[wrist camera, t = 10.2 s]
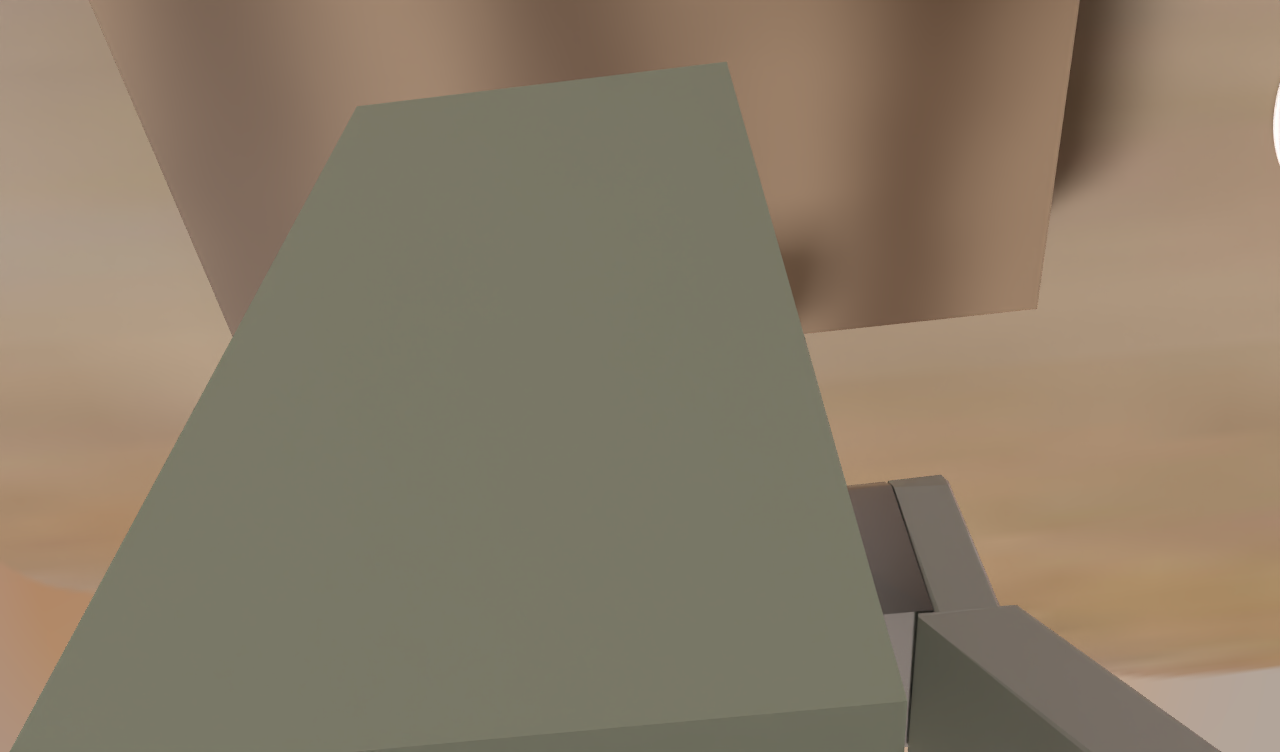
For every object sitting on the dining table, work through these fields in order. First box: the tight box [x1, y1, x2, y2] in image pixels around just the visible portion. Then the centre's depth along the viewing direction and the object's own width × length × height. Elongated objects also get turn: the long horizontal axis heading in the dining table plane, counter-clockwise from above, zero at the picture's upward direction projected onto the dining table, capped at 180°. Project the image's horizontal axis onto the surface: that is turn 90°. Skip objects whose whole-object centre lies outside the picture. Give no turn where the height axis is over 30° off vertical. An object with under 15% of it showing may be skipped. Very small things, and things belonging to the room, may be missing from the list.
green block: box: [10, 62, 908, 752], centre depth 10 cm, size 4×7×8 cm, turn 7°
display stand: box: [89, 0, 1080, 336], centre depth 20 cm, size 18×13×6 cm
